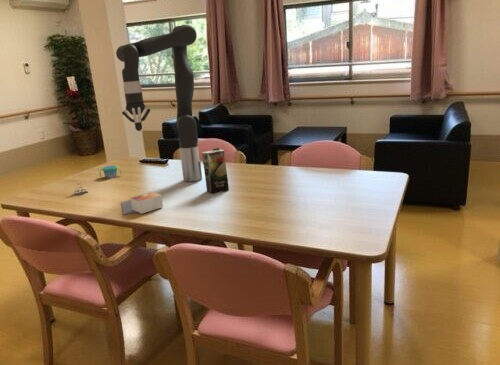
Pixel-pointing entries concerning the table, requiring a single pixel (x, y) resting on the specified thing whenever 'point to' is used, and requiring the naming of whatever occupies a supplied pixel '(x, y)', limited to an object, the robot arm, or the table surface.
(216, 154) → the juice carton
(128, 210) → the mat
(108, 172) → the snack cup
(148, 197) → the small box
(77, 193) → the house of cards
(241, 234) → the table surface
